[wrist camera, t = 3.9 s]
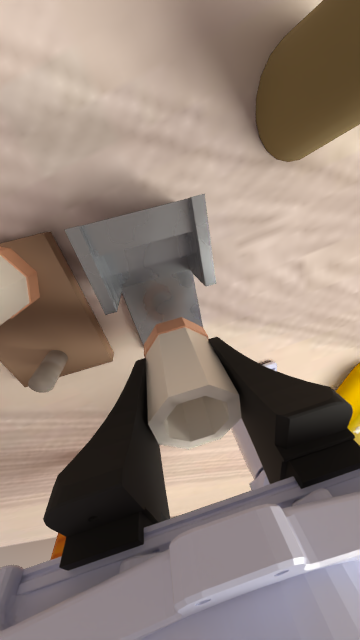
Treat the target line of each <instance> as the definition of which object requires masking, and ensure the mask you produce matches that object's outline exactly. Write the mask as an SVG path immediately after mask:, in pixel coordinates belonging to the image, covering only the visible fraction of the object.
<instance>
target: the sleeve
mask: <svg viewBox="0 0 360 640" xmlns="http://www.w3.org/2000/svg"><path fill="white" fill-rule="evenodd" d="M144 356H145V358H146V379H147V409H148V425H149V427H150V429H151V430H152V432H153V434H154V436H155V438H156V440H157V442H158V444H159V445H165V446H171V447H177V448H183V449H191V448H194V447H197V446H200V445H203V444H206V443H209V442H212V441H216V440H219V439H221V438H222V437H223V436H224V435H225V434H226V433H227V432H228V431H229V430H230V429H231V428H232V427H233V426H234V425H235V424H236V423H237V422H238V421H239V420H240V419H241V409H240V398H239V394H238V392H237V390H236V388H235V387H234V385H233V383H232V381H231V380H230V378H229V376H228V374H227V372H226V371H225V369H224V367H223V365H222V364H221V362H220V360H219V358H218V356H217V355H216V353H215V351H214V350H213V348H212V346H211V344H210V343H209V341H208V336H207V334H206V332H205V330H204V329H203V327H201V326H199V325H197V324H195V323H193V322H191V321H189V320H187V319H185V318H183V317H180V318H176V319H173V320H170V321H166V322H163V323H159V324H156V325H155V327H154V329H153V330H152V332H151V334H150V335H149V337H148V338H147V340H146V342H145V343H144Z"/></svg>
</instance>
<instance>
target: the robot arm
mask: <svg viewBox="0 0 360 640" xmlns="http://www.w3.org/2000/svg"><path fill="white" fill-rule="evenodd" d="M208 341H209V343H210V344H211V346H212V348H213V350H214V351H215V353H216V355H217V356H218V358H219V360H220V362H221V364H222V365H223V367H224V369H225V371H226V372H227V374H228V376H229V378H230V380H231V381H232V383H233V385H234V387H235V388H236V390H237V392H238V394H239V398H240V409H241V419H240V420H239V421H238V422H237V423H236V424H235V425H234V426H233V427H232V428H231V430H232V432H233V434H234V437H235V439H236V441H237V444H238V446H239V448H240V451H241V453H242V455H243V458H244V460H245V462H246V464H247V467H248V469H249V471H250V472H251V474H252V476H253V478H254V481H252V482H251V483H250V484H249V485H250V487H251V490H252V491H249V492H246V493H243V494H240V495H237V496H234V497H231V498H229V499H226V500H223V501H220V502H217V503H214V504H211V505H208V506H205V507H203V508H200V509H197V510H194V511H191V512H188V513H185V514H182V515H179V516H176V517H174V518H171V519H170V515H169V508H168V502H167V496H166V490H165V483H164V476H163V469H162V462H161V455H160V447H159V444H158V442H157V440H156V438H155V436H154V434H153V432H152V430H151V429H150V427H149V425H148V409H147V379H146V358H144V359H141V360H137V361H136V362H135V365H134V367H133V369H132V372H131V374H130V377H129V379H128V381H127V383H126V385H125V387H124V389H123V391H122V393H121V395H120V397H119V399H118V401H117V402H116V404H115V406H114V407H113V409H112V411H111V412H110V414H109V415H108V417H107V418H106V420H105V421H104V422H103V424H102V425H101V427H100V428H99V429H98V431H97V432H96V433H95V435H94V436H93V437H92V438H91V440H90V441H89V442H88V443H87V444H86V446H85V447H84V448H83V449H82V450H81V451H80V452H79V454H78V455H77V456H76V457H75V458H74V459H73V460H72V461H71V462H70V463H69V464H68V465H67V466H66V467H65V468H64V470H63V471H62V472H61V473H60V474H59V475H58V476H57V479H56V482H55V484H54V487H53V490H52V493H51V496H50V499H49V502H48V506H47V509H46V512H45V515H44V518H43V519H44V522H45V524H46V526H48V527H49V528H50V529H52V530H54V531H56V532H58V533H60V534H62V535H64V536H66V540H65V544H64V549H63V553H62V556H61V557H58V558H55V559H52V560H49V561H46V562H43V563H41V564H38V565H35V566H32V567H29V568H26V569H23V568H22V567H20V566H17V565H8V566H4V567H0V640H360V445H359V444H358V443H357V442H356V441H355V440H354V439H355V436H354V434H353V433H352V432H351V431H350V430H349V429H348V428H347V427H348V425H349V422H350V420H351V417H352V413H353V409H352V406H351V405H350V404H349V403H348V402H347V401H346V400H345V399H344V398H342V397H341V396H340V395H339V394H338V393H337V392H335V391H334V390H333V389H332V388H330V387H327V386H323V385H319V384H315V383H311V382H307V381H304V380H300V379H297V378H294V377H291V376H288V375H285V374H282V373H280V372H277V364H276V363H275V362H274V361H272V362H269V363H265V364H262V365H261V364H259V363H257V362H255V361H253V360H251V359H250V358H248V357H246V356H244V355H243V354H241V353H240V352H238V351H236V350H235V349H233V348H232V347H231V346H229V345H228V344H226V343H225V342H224V341H222V340H221V339H220V338H218V337H215V338H211V339H208Z"/></svg>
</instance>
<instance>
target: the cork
mask: <svg viewBox="0 0 360 640" xmlns="http://www.w3.org/2000/svg"><path fill="white" fill-rule="evenodd" d="M256 123H257V127H258V132H259V137H260V139H261V141H262V143H263V145H264V146H265V148H266V150H267V151H268V152H269V153H270V154H271V155H272V156H274V157H275V158H276V159H278V160H282V161H286V162H290V161H295V160H300V159H302V158H303V157H305V156H307V155H308V154H310V153H312V152H314V151H315V150H317V149H319V148H320V147H322V146H324V145H325V144H327V143H329V142H330V141H332V140H334V139H335V138H337V137H339V136H341V135H342V134H344V133H346V132H347V131H349V130H351V129H352V128H354V127H356V126H357V125H359V124H360V0H323V1H322V2H321V3H320V4H319V5H318V6H317V7H316V8H315V9H313V10H312V11H311V12H310V13H309V14H308V15H307V16H306V17H305V18H304V19H303V20H302V21H301V22H300V23H299V24H298V25H297V26H295V27H294V28H293V29H292V30H291V31H290V32H289V33H288V34H287V35H286V36H285V37H284V38H283V39H282V40H281V42H280V43H279V44H278V46H277V47H276V48H275V50H274V51H273V52H272V53H271V55H270V57H269V59H268V62H267V64H266V66H265V68H264V71H263V73H262V75H261V79H260V83H259V88H258V92H257V97H256Z"/></svg>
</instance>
